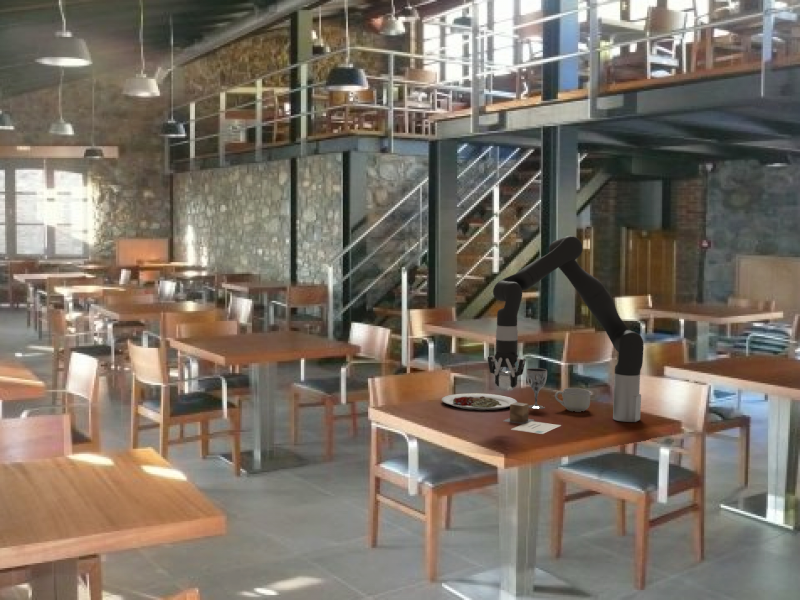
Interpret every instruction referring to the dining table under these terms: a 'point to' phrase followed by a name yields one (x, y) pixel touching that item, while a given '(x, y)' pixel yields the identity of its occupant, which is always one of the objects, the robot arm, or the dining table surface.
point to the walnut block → (519, 412)
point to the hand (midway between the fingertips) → (505, 386)
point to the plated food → (478, 401)
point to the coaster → (519, 422)
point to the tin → (505, 380)
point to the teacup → (574, 399)
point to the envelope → (536, 427)
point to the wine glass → (536, 383)
